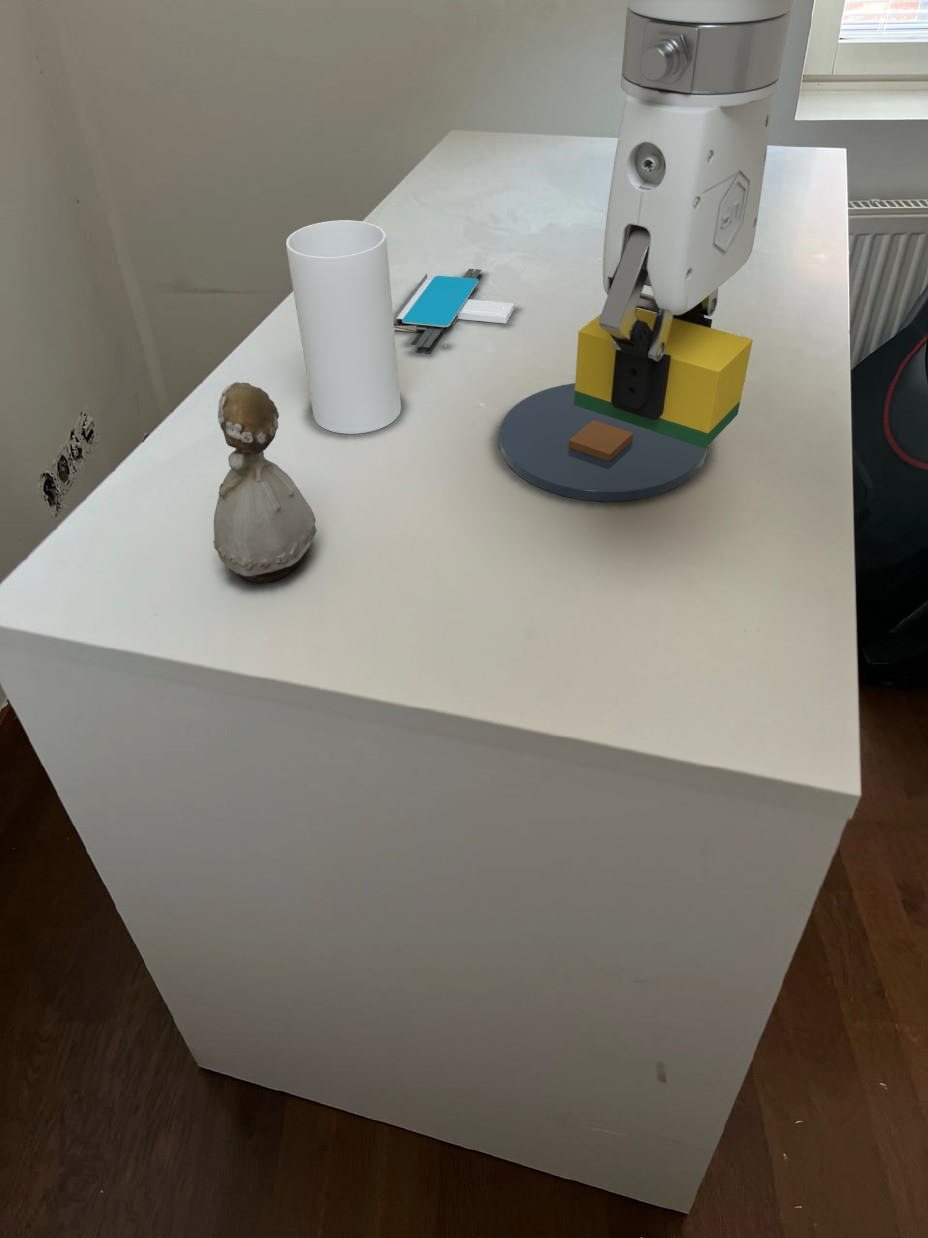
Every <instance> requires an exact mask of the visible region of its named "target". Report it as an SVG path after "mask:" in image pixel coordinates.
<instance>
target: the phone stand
mask: <svg viewBox="0 0 928 1238" xmlns="http://www.w3.org/2000/svg"><path fill="white" fill-rule="evenodd" d="M481 272H482V269H478V268H476V269H475V268H468V269H467V271H466V272H465V273H464V274H463V276H462V277H461V276H460V277H458V276H450V275H449V276H448V275H435V276H433V278H428V273H426V274H424V276H423V277H422V279H421V280H420V281H419V283H418V284H417V285H416V286H415V287H414V289H413V290H412V291H411V293H410V294H409V295H408V297H407V298H406V299H405V301H404V302H403V303H402V305H401V306H400V307H399V308H398V310H397V311H396V312H395V314H394V315H395V317H393V320H394V332H406V333H416V336H415V338H414V339H413V341H411V344H410V345H414V346H415V347H418V348H417V349H416V351H415V352H416V353H423V354H425V353H426V354H431V353H432V352H433V350H434V349H435V348H436V346H437V345H438V343H439V342H440V340H441V339H442V337H443V336H444V335H445V333H446V332H447V331H448V328H449V327H450V326H451V325H455V323H456V322H457V321H458V320H465V321H477V322H487V323H498V324H507V323H508V321H509V319H510V318H511V316H512V314H513V313H514V311H515V302H514V303H513V302H502V301H494V300H493V301H491V300H481V299H472V298H473V295H474V294H472V293H473V291H474V289H475V288H476V287H477V285H478V284H479V282H480V280H481V278H482V277H483V274H480V273H481ZM444 346H445V347H447V345H444Z"/></svg>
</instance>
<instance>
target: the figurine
mask: <svg viewBox="0 0 928 1238" xmlns="http://www.w3.org/2000/svg"><path fill="white" fill-rule="evenodd" d="M279 417H280V413H279V412H278V408H277V406H276V404H275V402H274V401H273V400H272V399H271V398H270V396H269V394H268V392H266V391H264V390H263V389H262V388H261V387H257V386H254V385H252V384H250V383H249V382H239V381H235V382H232V383H230V384H229V385H227V386H226V387H225V388H224V389H223V390H222V392H221V396H220V398H219V400H218V411H217V420H218V424H219V427H220V429H221V431H222V433H223V435H224V439H225V443H226V444H227V446H228V447H231V448H234V449H235V450H233V451H232V452H231V453H230V454H229V455H228V458H227V460H228V465H229V468H230V469H229V470H228V472H227V474H226V475H225V477H224V479H223V481H222V483H220V485H219V489H218V490H219V491H218V498H217V500H216V501H217V502H216V506H215V509H214V515H213V547H214V550H215V551H216V552H217V555H218V558H219V559H220V561H221V562H222V563H223V565H224V566H226V567H227V568H229V569H230V570H232V571H233V572H234V573H236V575H237V576H239V577H242V578H245V579H247V580H249V581H251V582H255V583H262V584H263V583H271V582H275V581H278V580H281V578H284V577H285V576H287V575H289V574H290V573H291V572H293V571H294V570H295V569H297V568H298V566H299V565H300V564H301V563H302V559H303V557H304V555H305V554H306V552H307V551H308V549H309V548H310V547H311V543H312V541H313V539H314V538H315V534H316V533H317V531H318V530H317V526H316V517H315V513H314V512H313V509H312V507H311V505H310V504H309V503H308V501H307V500H306V498H305V497H304V494H303V493H302V492H301V490H300V489H299V487H298V486H297V485H296V484H295V482H294V480H293V479H292V478H291V477H290V476H289V475H288V473H286V471H284V470H283V469H282V468H281V467H279V465H278V464H277V463H274V462H272V461H270V460H268V459H267V458H266V457H265V452H264V451H266V449H267V448H268V447H269V446H270V445H271V443H272V442H273V440H274V439H275V437H276V433H277V430H278V429H279V421H278V420H279Z"/></svg>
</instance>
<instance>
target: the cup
mask: <svg viewBox="0 0 928 1238" xmlns="http://www.w3.org/2000/svg"><path fill="white" fill-rule="evenodd" d="M285 243H286V244H285V245H286V247H285V248H286V254H287V260H288V267H289V272H290V273H289V274H290V280H291V285H292V292H293V299H294V303H295V310H296V316H297V323H298V328H299V329H298V330H299V334H300V335H299V336H300V341H301V349H302V355H303V360H304V366H305V372H306V378H307V384H308V385H307V386H308V391H309V398H310V403H311V404H310V405H311V410H312V416H313V420H314V421H315V423H316V424H317V425H318V426H319V427H321V428H322V429H325V430H327V431H330V432H333V433H337V434H342V435H343V434H344V435H345V434H346V435H358V434H365V433H370V432H375V431H377V430H381V429H383V428H385V427H387V426H389V425H390V424H392V423H393V422H395V420H397V419H398V417H399V416H400V414H401V411H402V402H401V394H400V393H401V391H400V390H401V389H400V379H399V368H398V356H397V345H396V344H397V343H396V333H395V332H396V331H394V321H395V320H394V319H393V318H394V310H393V298H392V288H391V286H392V285H391V275H390V263H389V255H388V254H389V253H388V243H387V236H386V232H385V231H384V229H383V228H381V227H380V226H378V225H376V224H373V223H370V222H366V221H360V220H351V219H350V220H349V219H340V220H339V219H338V220H329V221H322V222H321V221H320V222H317V223H312V224H310V225H306V226H304V227H301V228H299V229H297V230H295V231H294V232H292V233H291V234H289V235H288V236H287V238H286V241H285Z"/></svg>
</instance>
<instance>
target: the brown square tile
mask: <svg viewBox="0 0 928 1238" xmlns="http://www.w3.org/2000/svg"><path fill="white" fill-rule="evenodd" d="M632 440H633V433H632V432H629V431H626V430H623V429H620V428H617V427H614V426H611V425H608V424H605V423H602V422H599V421H596V420H592V421H591V422H590V423H589V424H587V425H586V426H585V427H584V428H583V429H581V430H580V431H579V432H578V433H577V434H576V435H574V436H573V437H572V438H571V439H570V440H569V448H571V449H574V450H577V451H580V452H583V453H586V454H588V455H591V456H594V457H597V458H600V459H603V460H605V461H608V462H610V461H611V460H612V459H613V458H614V457H615V456H616V455H617V454H618V453H619V452H620V451H622V450H623V449H624V448H625V447H626V446H627V445H628V444H629V443H630V442H631V441H632Z"/></svg>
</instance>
